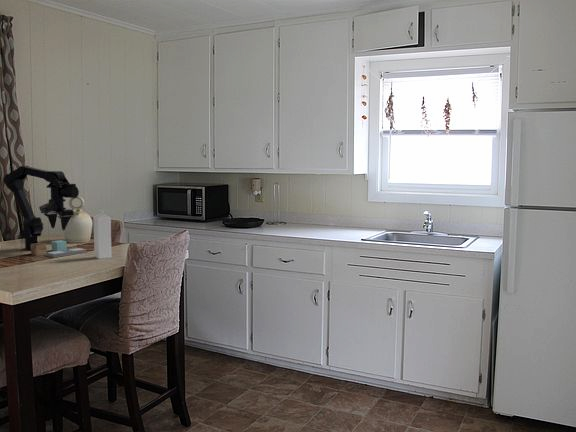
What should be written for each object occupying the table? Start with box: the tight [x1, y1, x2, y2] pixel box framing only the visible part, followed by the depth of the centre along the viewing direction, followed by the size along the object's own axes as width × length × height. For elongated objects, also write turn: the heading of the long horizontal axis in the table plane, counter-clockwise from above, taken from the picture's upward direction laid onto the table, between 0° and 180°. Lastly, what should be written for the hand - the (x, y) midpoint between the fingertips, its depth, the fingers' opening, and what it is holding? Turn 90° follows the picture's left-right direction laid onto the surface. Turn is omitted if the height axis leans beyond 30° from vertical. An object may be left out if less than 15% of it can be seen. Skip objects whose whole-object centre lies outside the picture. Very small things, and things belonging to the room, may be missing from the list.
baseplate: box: [45, 247, 88, 259], centre depth 272 cm, size 7×17×2 cm, turn 143°
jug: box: [62, 195, 93, 244], centre depth 309 cm, size 15×16×25 cm
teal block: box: [50, 239, 68, 252], centre depth 280 cm, size 5×5×5 cm
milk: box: [92, 209, 112, 260], centre depth 264 cm, size 6×6×22 cm
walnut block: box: [30, 242, 48, 256], centre depth 272 cm, size 5×5×5 cm
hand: (58, 229), depth 279 cm, fingers open, 9 cm apart
